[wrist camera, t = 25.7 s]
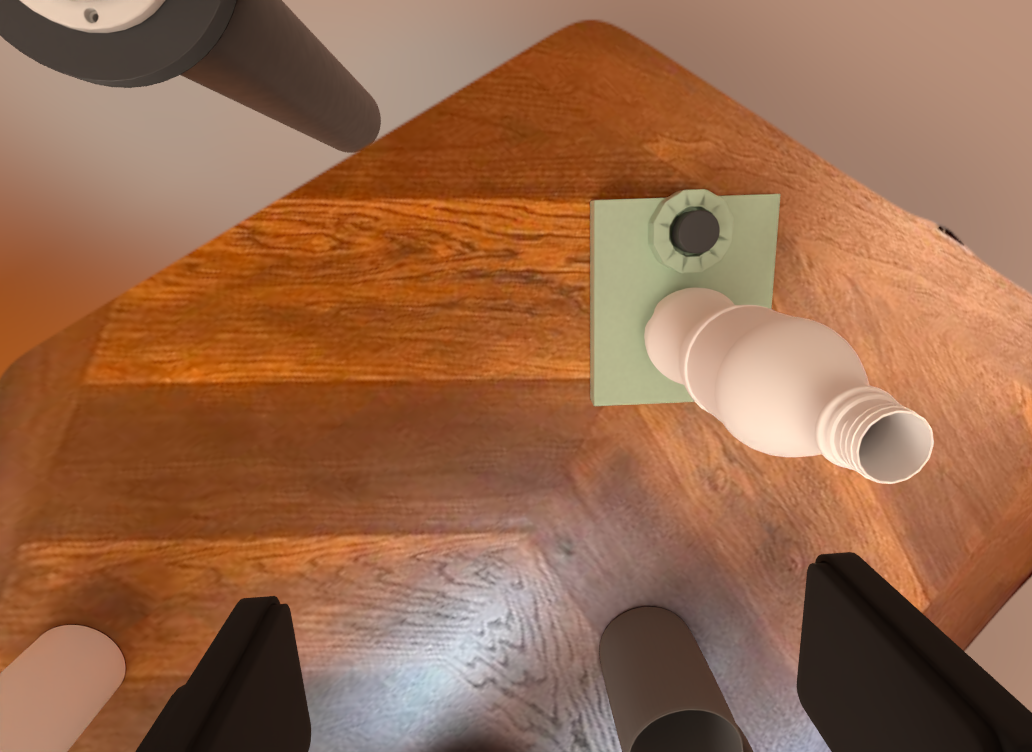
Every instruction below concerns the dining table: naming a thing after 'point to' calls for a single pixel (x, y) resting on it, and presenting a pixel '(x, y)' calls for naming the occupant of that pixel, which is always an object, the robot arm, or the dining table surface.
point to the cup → (57, 689)
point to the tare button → (696, 231)
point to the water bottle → (784, 385)
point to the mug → (664, 687)
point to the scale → (666, 280)
